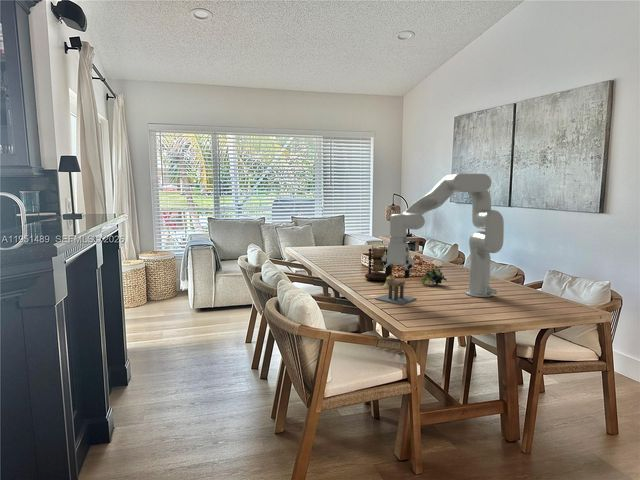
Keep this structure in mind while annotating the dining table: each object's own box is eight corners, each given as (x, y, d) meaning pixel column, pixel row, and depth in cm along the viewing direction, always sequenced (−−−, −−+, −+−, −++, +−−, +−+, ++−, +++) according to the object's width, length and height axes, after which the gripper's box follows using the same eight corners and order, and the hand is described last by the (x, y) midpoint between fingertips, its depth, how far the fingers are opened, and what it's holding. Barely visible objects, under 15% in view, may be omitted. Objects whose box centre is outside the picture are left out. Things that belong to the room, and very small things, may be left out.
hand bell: (398, 289, 216) (399, 259, 214) (382, 289, 218) (382, 258, 216) (398, 286, 224) (399, 257, 223) (382, 285, 226) (383, 256, 224)
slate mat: (416, 299, 198) (416, 298, 198) (401, 305, 187) (401, 303, 187) (391, 294, 207) (391, 293, 207) (375, 299, 197) (375, 298, 197)
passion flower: (436, 293, 231) (450, 277, 228) (431, 294, 221) (446, 277, 219) (420, 280, 236) (434, 264, 233) (415, 280, 226) (429, 263, 223)
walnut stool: (396, 300, 193) (397, 283, 192) (387, 298, 196) (387, 281, 195) (404, 297, 198) (405, 281, 197) (395, 295, 201) (395, 279, 201)
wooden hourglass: (390, 277, 247) (391, 244, 245) (391, 283, 232) (392, 247, 230) (365, 276, 249) (366, 243, 247) (364, 282, 234) (365, 246, 232)
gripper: (418, 240, 191) (418, 277, 193) (386, 238, 202) (386, 272, 205) (410, 242, 185) (409, 280, 188) (377, 239, 197) (377, 275, 199)
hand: (397, 276), depth 196 cm, fingers open, 9 cm apart
